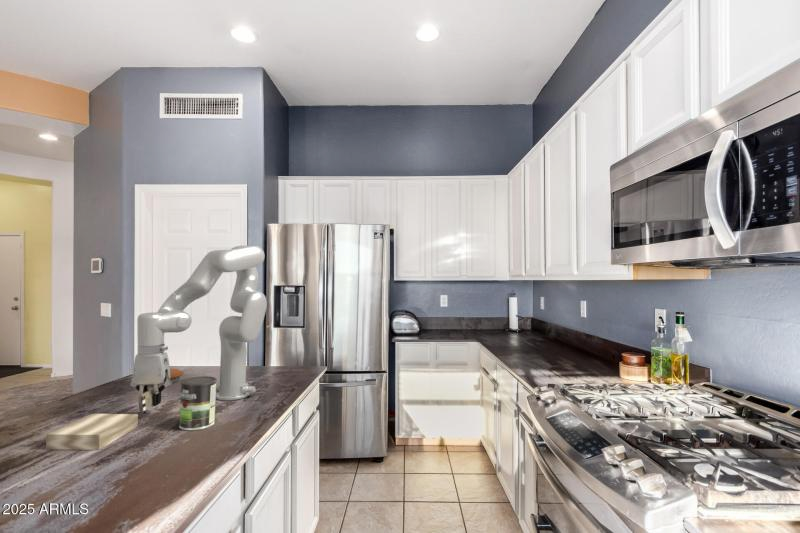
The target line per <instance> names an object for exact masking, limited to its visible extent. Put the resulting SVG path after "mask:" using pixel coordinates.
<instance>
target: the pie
mask: <svg viewBox="0 0 800 533" xmlns="http://www.w3.org/2000/svg"><path fill="white" fill-rule="evenodd" d="M183 375H184V371H183V370H180V369H178V368H170V380H171V382H172V384H174V383H177V382H178V381H179V379H180V378H181V376H183ZM163 384H165V381H164V382H163Z"/></svg>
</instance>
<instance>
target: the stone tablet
mask: <svg viewBox="0 0 800 533" xmlns="http://www.w3.org/2000/svg"><path fill="white" fill-rule="evenodd" d="M162 393H163V391H162V392H161V402H162V400H163V399H162V398H163V397H162V396H163V394H162ZM153 394H155V390H154V387H153V388H150V389H148V391H146V392H144V393H142V394H140V393H139V395H138V397H137V398H138V408H139V409H138V410H139V412H140V413H143V415H146V414H147V411H148V410H150V409H152V408H153V407H154V406H153Z"/></svg>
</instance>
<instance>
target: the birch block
mask: <svg viewBox="0 0 800 533" xmlns="http://www.w3.org/2000/svg"><path fill="white" fill-rule="evenodd" d="M138 419H139V415H138V414H137V413H91V414H88V415H85V416H83V417H82V418H80V419H77V420H75V421H72V422H71V423H68V424H67V425H64V426H61V427H60V428H58V429H56V430H53V431H51V432H49V433H47V434H46V440H45V441H46V442H45V450H59V451H60V450H63V451H64V450H66V451H67V450H68V451H69V450H71V451H77V450H79V451H80V450H81V451H87V450H88V451H100V450H102V449H103V448H104V447H106V446H108V445H110V444H111V443H113V442H115V441H117V440H118V439H120V438H122V437H124V436H126V435H127V434H128V433H130V432H131V431H133V430H134V431H135V429H137V428H138V423H139V420H138ZM99 449H100V450H99Z"/></svg>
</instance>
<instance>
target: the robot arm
mask: <svg viewBox="0 0 800 533" xmlns="http://www.w3.org/2000/svg"><path fill="white" fill-rule="evenodd" d="M265 258H266V257H265V252H264V249H263V248H261V247H260V246H259V245H238V246H234V247H232V248H230V249H217V250H216V249H215V250H211V251H209V252H207V253H206V255H204V257H203V258H202V259H201V261H200V262H199V264H198V266H197V267H196V268H195V270H194V271H193V272H192V273H191V275H190V277H189V278H188V279H187V280H186V281H185V282H184V283H183V284H182V285H180V286H179V287H178V288H177V289H175V290H174V291H173V292H172V293H171V294H170V295H169V296H168V297H167V298H166V299H165V301H164V302H163V303H162V305H161V306H160V308H158V311H155V312H154V311H153V312H144V313H140V314H139V315H138V316H137V321H136V322H137V326H136V327H137V330H136V331H137V334H136V335H137V354H136V355H135V356H134V362H133V367H132V380H131V382H130V387H133V388H135V389H136V390H137V391H138V393H139V395H140V394H142V393H144V392H146V391H148V390H149V386H153V388H154V390H155V394H153V407H157V406H158V405H159V404H161V403H162V401H161V392H162V393H163V391H164V390H165V389H166V388H168V387H169V386H170V385H172V384H173V383H172V382H171V380H170V369H171V368H170V367H171V366H170V360H169V356H168V352H165V351H168V349H169V346H167V345H166V344H165V334H168V333H182V332H184V331H186V330H187V329H189V328H190V326H191V325H192V317H191V315H190V314H189V313H188V312H186V311H184V310H185V309H186V308H187V307H188V306H189V305H190V304H192V303H193V302H195V301H196V300H199V299H201V298H203V297H205V296H207V295H208V294H209V293H210V292H211V291H212V289H213V287H214V286H215V285H216V283H217V281H218V280H219V279H220V277H221V276H222V274H223V273H236V279H235V284H234V286H233V291H232V295H231V298H230V303H229V307H230V309H231V310H232V311H233V312H235V313H238V314H241V316H240V315H230V316H227V317H225V318H223V320H221V323H220V324H219V328H218V332H219V333H218V334H219V339H220V340H219V341H220V362H219V364H220V367H219V388H218V389H219V390H218V391H216V399H215V400H219V401H236V400H241V399H245V398H247V397H248V396H250V393H256V391H257V389H256V387H255V386H254V385H253V386H252V385H251V386H249V382H246V380H247V379H246V376H247V355H248V350H247V349H248V348H247V344H246V343H252V342H254V341H255V340H256V339H257V338H258V337H259V335H260V333H261V331H262V328H263V327H262V326H263V323H264V320H265V316H266V312H267V305H268V303H267V297H266V295H265V294H264V293H263V292H262V291H259V290H257V289H258V285H259V281H260V280H259V278H260V277H259V276H260V275H259V272H258V269H257V267H259V266H260V265H261V264H263V262H264V261H265ZM164 381H165V384H163V382H164Z"/></svg>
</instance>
